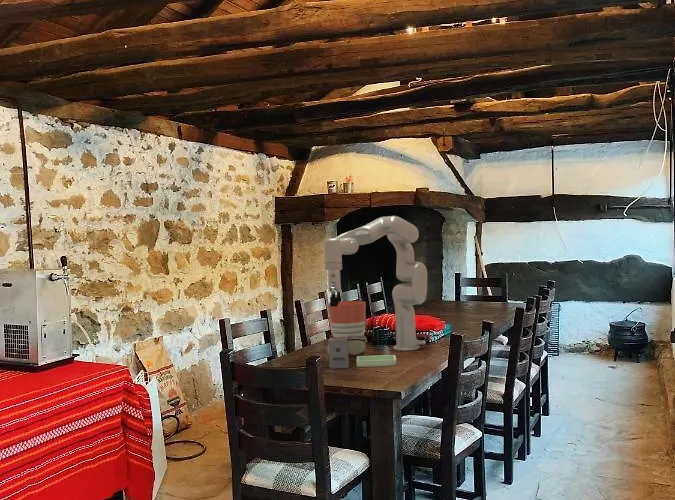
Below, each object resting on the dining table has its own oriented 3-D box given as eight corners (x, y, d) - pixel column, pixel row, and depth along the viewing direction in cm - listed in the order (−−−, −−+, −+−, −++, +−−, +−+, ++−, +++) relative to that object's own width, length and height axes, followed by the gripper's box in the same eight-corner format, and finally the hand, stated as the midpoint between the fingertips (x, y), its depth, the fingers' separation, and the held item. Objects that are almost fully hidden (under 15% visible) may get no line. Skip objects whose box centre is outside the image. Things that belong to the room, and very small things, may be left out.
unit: (349, 364, 268) (347, 336, 268) (348, 368, 259) (347, 340, 259) (330, 364, 268) (328, 337, 268) (328, 369, 260) (327, 340, 259)
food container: (371, 357, 281) (370, 335, 281) (367, 359, 276) (366, 337, 276) (345, 356, 286) (344, 335, 285) (341, 359, 280) (340, 337, 280)
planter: (365, 339, 331) (364, 300, 330) (368, 345, 311) (366, 303, 311) (329, 341, 330) (328, 301, 330) (330, 347, 311) (328, 305, 310)
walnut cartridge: (337, 359, 279) (337, 344, 278) (337, 362, 274) (336, 346, 273) (326, 360, 279) (326, 345, 279) (326, 362, 274) (325, 347, 274)
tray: (395, 360, 271) (395, 354, 271) (396, 365, 260) (396, 359, 260) (357, 361, 272) (356, 356, 272) (356, 367, 261) (356, 361, 261)
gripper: (341, 266, 259) (342, 307, 259) (342, 265, 277) (343, 303, 277) (323, 267, 260) (324, 307, 260) (326, 266, 277) (327, 303, 277)
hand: (334, 305), depth 268 cm, fingers open, 9 cm apart
